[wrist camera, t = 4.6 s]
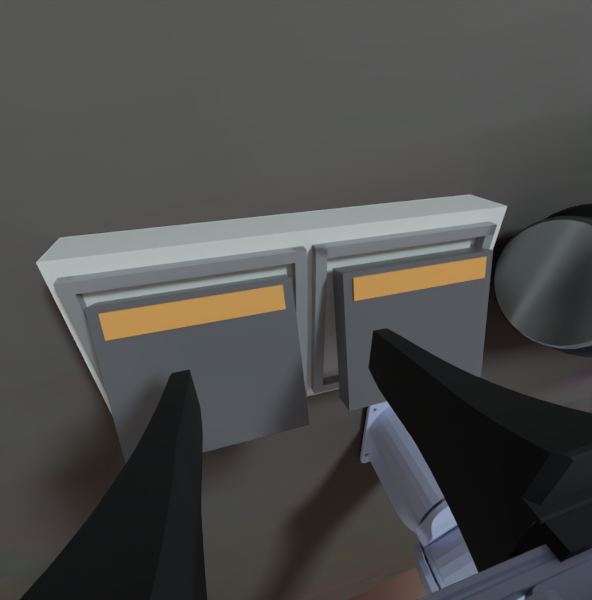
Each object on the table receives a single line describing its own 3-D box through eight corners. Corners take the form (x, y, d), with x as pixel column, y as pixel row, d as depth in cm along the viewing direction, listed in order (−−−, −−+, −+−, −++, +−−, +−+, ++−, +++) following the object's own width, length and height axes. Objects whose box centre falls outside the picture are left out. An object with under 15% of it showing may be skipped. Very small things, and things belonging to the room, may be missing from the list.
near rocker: (302, 411, 18) (309, 425, 17) (134, 453, 16) (126, 474, 15) (285, 274, 17) (292, 277, 15) (95, 302, 15) (83, 309, 13)
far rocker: (464, 366, 21) (482, 377, 20) (339, 397, 19) (350, 412, 18) (473, 246, 19) (494, 250, 17) (332, 268, 17) (343, 273, 15)
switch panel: (432, 336, 27) (465, 368, 24) (132, 403, 22) (122, 455, 19) (469, 194, 21) (522, 211, 18) (59, 237, 15) (25, 272, 12)
